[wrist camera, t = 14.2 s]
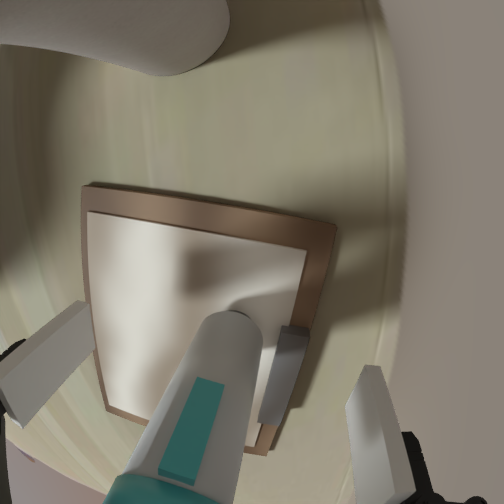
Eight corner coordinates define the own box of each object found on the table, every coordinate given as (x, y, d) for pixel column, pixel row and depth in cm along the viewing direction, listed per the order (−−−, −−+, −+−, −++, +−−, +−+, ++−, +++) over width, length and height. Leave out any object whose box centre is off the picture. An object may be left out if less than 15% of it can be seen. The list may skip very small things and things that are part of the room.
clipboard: (109, 406, 23) (101, 417, 21) (87, 184, 16) (71, 188, 15) (266, 451, 21) (265, 465, 20) (335, 224, 15) (340, 231, 14)
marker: (198, 343, 18) (109, 526, 6) (209, 285, 16) (85, 489, 4) (258, 360, 17) (215, 560, 5) (276, 303, 16) (239, 542, 4)
